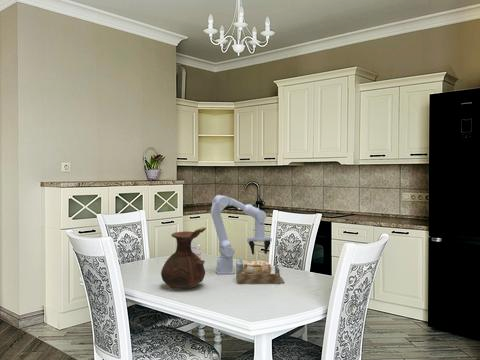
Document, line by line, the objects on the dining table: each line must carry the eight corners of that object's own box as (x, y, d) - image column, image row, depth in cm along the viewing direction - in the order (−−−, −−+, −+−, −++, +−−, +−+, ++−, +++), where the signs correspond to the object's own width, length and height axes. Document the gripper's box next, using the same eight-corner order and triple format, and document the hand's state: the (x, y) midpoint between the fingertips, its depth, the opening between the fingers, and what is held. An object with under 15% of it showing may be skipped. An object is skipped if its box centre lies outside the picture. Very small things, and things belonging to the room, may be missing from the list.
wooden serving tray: (237, 284, 230) (237, 264, 230) (236, 278, 243) (236, 259, 243) (280, 283, 231) (280, 264, 231) (276, 277, 244) (276, 259, 244)
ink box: (201, 263, 281) (201, 239, 280) (198, 265, 276) (198, 241, 276) (188, 262, 283) (189, 239, 283) (185, 264, 279) (185, 240, 278)
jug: (167, 294, 210) (167, 230, 210) (156, 283, 230) (157, 224, 230) (211, 289, 219) (211, 228, 219) (197, 279, 239) (197, 223, 238)
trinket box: (274, 276, 248) (274, 262, 248) (249, 278, 242) (249, 264, 242) (263, 271, 261) (263, 257, 260) (239, 273, 255) (240, 259, 255)
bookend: (277, 283, 232) (277, 269, 232) (274, 277, 244) (274, 264, 244) (284, 283, 232) (284, 269, 232) (281, 277, 245) (281, 264, 244)
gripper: (249, 231, 257) (249, 255, 257) (273, 231, 260) (273, 254, 261) (246, 230, 264) (245, 253, 264) (269, 229, 267) (269, 252, 267)
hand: (259, 253), depth 263 cm, fingers open, 7 cm apart
